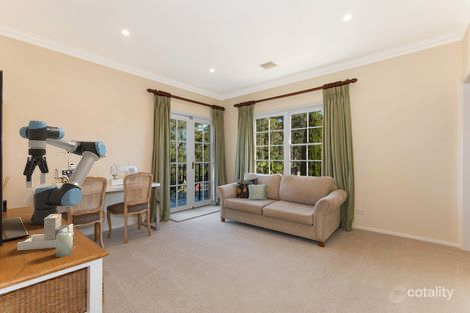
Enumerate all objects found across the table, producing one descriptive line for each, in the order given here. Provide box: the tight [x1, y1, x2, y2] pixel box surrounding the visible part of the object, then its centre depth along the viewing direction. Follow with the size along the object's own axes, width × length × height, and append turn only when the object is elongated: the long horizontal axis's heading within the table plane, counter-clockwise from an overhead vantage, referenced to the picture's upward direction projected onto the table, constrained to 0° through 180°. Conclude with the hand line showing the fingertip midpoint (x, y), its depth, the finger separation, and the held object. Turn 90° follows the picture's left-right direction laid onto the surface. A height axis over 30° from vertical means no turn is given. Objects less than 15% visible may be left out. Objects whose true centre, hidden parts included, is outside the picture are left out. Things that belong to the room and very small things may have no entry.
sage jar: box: [55, 231, 74, 258], centre depth 101 cm, size 6×6×9 cm
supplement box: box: [43, 213, 62, 240], centre depth 112 cm, size 8×5×13 cm, turn 22°
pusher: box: [55, 224, 75, 240], centre depth 114 cm, size 8×6×7 cm
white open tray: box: [16, 223, 74, 251], centre depth 111 cm, size 11×18×8 cm, turn 105°
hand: (36, 186), depth 127 cm, fingers open, 13 cm apart
